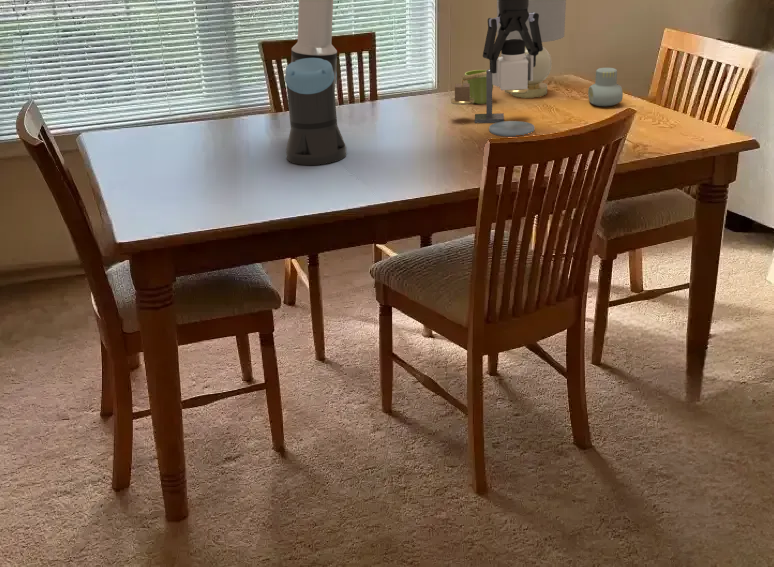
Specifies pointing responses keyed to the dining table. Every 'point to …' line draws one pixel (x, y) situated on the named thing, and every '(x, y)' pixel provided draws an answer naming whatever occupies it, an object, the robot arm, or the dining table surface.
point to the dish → (511, 128)
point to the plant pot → (477, 87)
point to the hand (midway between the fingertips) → (512, 82)
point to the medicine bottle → (513, 65)
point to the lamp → (552, 27)
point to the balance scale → (464, 97)
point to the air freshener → (605, 88)
